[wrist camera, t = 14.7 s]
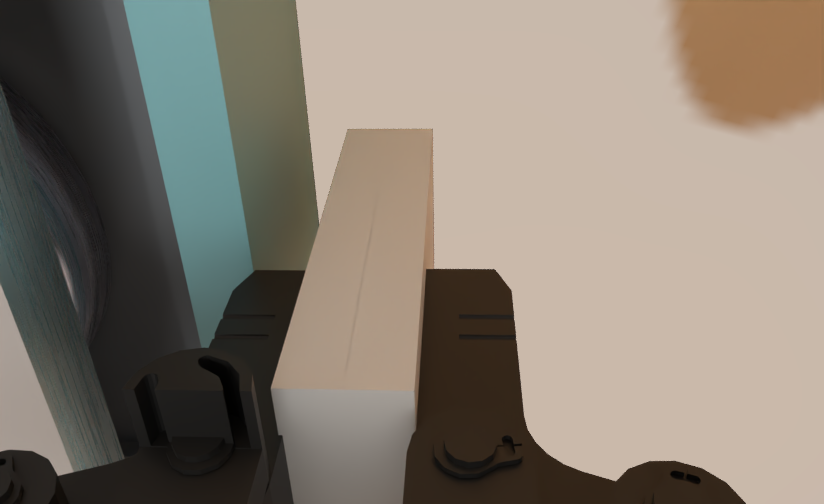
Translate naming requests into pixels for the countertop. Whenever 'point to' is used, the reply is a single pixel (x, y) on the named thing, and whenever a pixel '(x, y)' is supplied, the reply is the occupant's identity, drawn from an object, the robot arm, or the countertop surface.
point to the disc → (66, 213)
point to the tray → (173, 156)
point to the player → (42, 334)
